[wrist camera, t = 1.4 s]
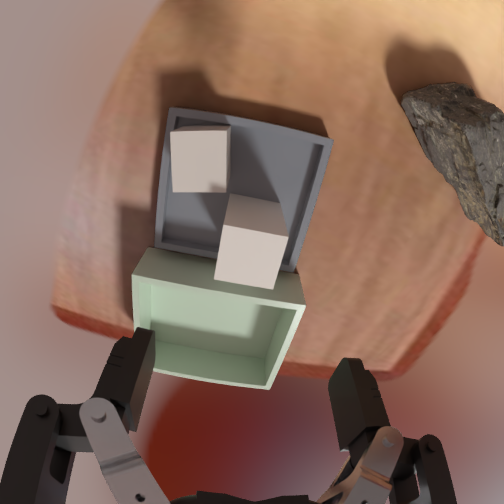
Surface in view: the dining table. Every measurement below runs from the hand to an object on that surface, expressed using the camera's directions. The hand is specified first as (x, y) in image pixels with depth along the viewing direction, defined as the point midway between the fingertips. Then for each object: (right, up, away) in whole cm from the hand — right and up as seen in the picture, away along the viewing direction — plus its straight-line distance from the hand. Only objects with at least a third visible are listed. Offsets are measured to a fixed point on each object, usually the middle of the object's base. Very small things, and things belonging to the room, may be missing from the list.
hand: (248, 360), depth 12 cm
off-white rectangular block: (0, +7, +12) cm, 14 cm away
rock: (+19, +14, +10) cm, 26 cm away
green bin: (-4, -1, +18) cm, 18 cm away
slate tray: (-1, +9, +12) cm, 15 cm away
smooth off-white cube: (-3, +12, +9) cm, 16 cm away
